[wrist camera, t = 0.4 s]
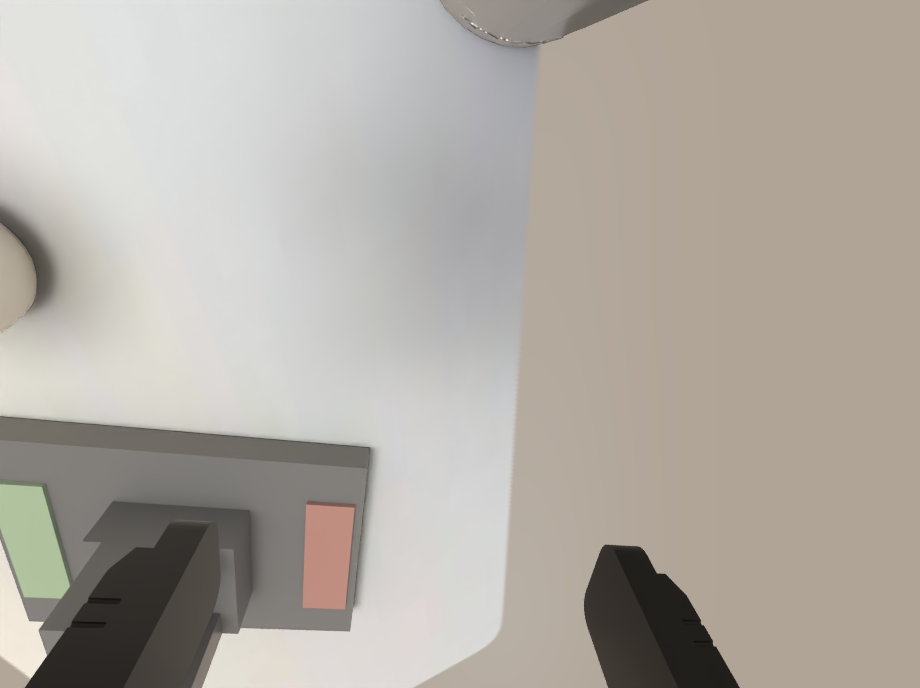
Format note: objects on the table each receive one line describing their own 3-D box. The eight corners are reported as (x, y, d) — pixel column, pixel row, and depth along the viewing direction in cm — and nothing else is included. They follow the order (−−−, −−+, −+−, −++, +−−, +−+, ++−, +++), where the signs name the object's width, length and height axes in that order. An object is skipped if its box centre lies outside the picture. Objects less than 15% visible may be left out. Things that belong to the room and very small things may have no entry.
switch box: (-8, 416, 28) (-202, 560, 20) (369, 447, 32) (349, 585, 23) (48, 594, 35) (-76, 761, 27) (353, 606, 39) (332, 759, 30)
